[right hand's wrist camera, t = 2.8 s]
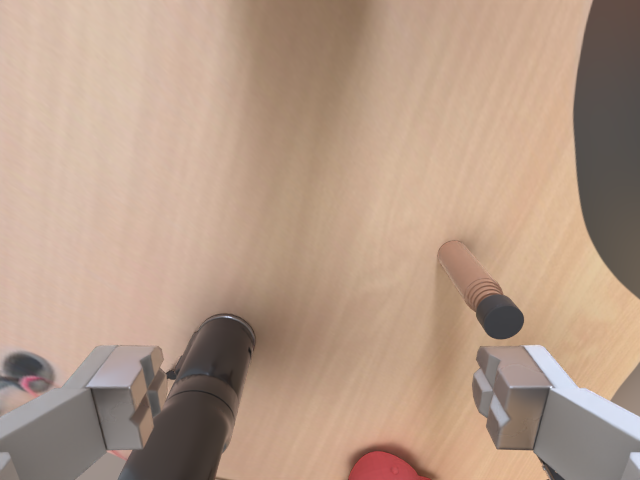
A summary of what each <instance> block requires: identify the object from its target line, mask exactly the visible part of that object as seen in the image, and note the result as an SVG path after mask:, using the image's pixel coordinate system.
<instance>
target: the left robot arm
mask: <svg viewBox="0 0 640 480" xmlns="http://www.w3.org/2000/svg"><path fill="white" fill-rule="evenodd" d="M254 346H255V335H254V332H253V330H252V328H251V327H250V325H249V324H248V323H247V322H245V321H244V320H243V319H241V318H239V317H236V316H233V315H228V314H220V315H215V316H212V317H210V318H208V319H207V320H206V321H204V322H203V323H202V325H201V326H200V328H199V330H198V331H197V332H195V333H194V334H193V336H192V338H191V340H190V342H189V344H188V346H187V348H186V350H185V352H184V354H183V355H182V356H181V357H180V359H179V361H178V363H177V365H176V367H175V368H176V370H175V373H174V371H169V372H168V373H166V375H167V379H168V378H169V379H171V380H175V379H176V380H175V382H174V384H173V386H172V388H171V390H170V393H169V395H168V397H167V399H166V401H165V404H164V406H163V409H162V411H161V413H159V414H158V415H157V416H155V417H154V418H153V424H154V428H153V430H152V432H151V434H150V436H149V438H148V440H147V442H146V444H145V446H144V448H143V449H135V450H132V452H131V454H130V456H129V458H128V459H127V461H126V463H125V465H124V467H123V469H122V471H121V473H120V475H119V478H118V480H215V477H216V473H217V469H218V465H219V462H220V458H221V454H222V453H223V452H224V451H225V450H226V449H227V447H228V445H229V443H230V440H231V437H232V433H233V429H234V425H235V420H236V416H237V412H238V408H239V404H240V400H241V396H242V392H243V388H244V384H245V380H246V376H247V372H248V368H249V364H250V360H251V359H252V357H251V356H252V352H253V350H254ZM250 365H251V364H250ZM538 458H539V460H540V462H541V463H542V468H543V470H544V471H545V472H546V474H547V476H548V478H549V479H548V480H565V479H564V478H563V477H561V476H560V475H559V474H558V473H556V472H555V470H553V469H552V468H551V467H550V466H549V465H548V464H546V463H545V462H544V461H543V460H542V459H541V458H540V457H538Z"/></svg>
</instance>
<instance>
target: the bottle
mask: <svg viewBox="0 0 640 480" xmlns="http://www.w3.org/2000/svg"><path fill="white" fill-rule="evenodd" d="M438 260H439V262H440V264H441V265H442V267H443V269H444V270H445V272H446V273H447V275H448V276H449V278H450V279H451V281H452V282H453V284H454V286H455V287H456V289H457V290H458V292H459V293H460V295H461V296H462V298H463V299H464V301H465V302H466V304H467V305H468V306H469V307H470V308H471V309H472V310H473V311H475V312H476V309H477V307H478V305H479V303H480V302H481V301H482V300H483V299H484V298H486V297H488V296H490V295H495V294H501V295H503V292H502V289H501V287H500V286H499V284H498V283H497V282H496V280H495V279H494V278H493V277H492V276H491V275H490V274H489V272H488V271H487V270H486V269H485V268H484V267H483V266H482V264H481V263H480V262H479V261H478V260H477V259H476V257H475V256H474V255H473V254H472V253H471V252H470V251H469V249H468V248H467V247H466V246H465V245H464V244H463V243H461V242H459V241H449V242H447V243H445V244H444V245H443V246H442V247H441V248H440V249H439V252H438Z"/></svg>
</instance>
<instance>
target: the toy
mask: <svg viewBox="0 0 640 480" xmlns="http://www.w3.org/2000/svg"><path fill="white" fill-rule="evenodd" d="M348 480H431V479H429V478H426V477H422V476H418V474H417V473H416V471H415V470H414V469H413V468H412V467H411V466H410V465H409V464H408V463H406V462H405V461H404V460H402V459H400V458H399V457H397V456H395V455H392V454H390V453H386V452H382V451H374V452H370V453H368V454H366V455H364V456H363V457H362V458H360V459H359V460H358V462H357V463H356V464H355V465H354V467H353V469H352V470H351V472H350V475H349V478H348Z"/></svg>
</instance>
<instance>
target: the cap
mask: <svg viewBox="0 0 640 480" xmlns="http://www.w3.org/2000/svg"><path fill="white" fill-rule="evenodd" d="M476 317H477V319H478V321H479V322H480V324H481V325H482V327H483V328H484V330H485V331H486V333H487V334H488V335H489V336H490V337H492V338H495V339H507V338H510V337H512V336H514V335H515V334H517V333H518V332H519V331H520V329H521V328H522V326H523V323H524V317H523V314H522V312H521V311H520V310H519V309H518V307H517V306H516V305H515V304H514V303H513V302H512V300H511V299H510V298H508V297H507V296H505V295H501V294H495V295H490V296H488V297H486V298H484V299H483V300H482V301H481V302H480V303H479V305H478V307H477V309H476Z"/></svg>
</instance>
